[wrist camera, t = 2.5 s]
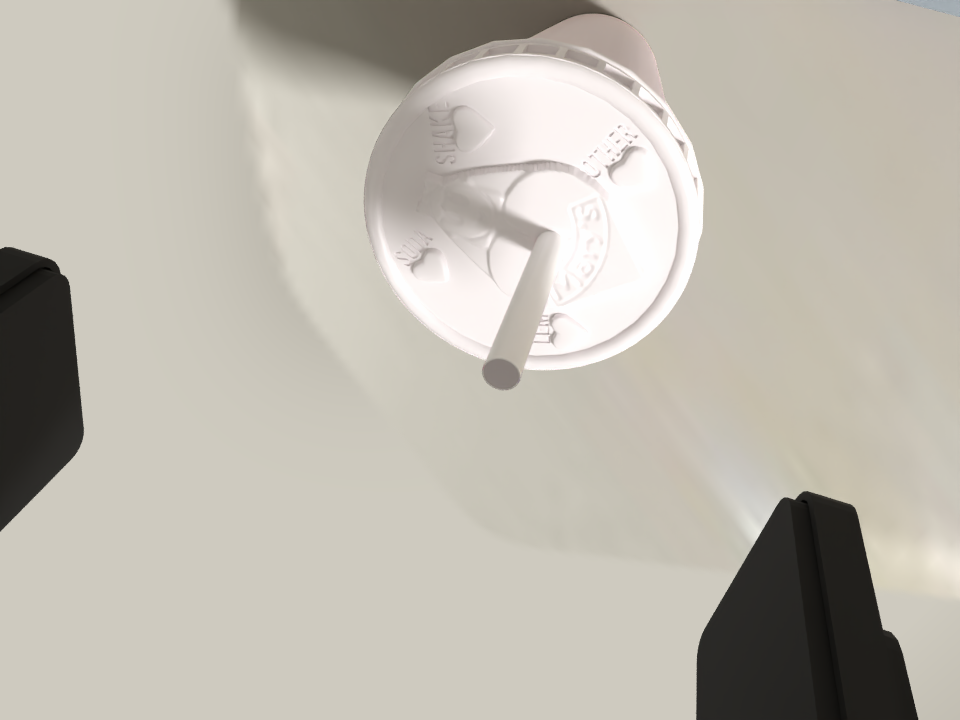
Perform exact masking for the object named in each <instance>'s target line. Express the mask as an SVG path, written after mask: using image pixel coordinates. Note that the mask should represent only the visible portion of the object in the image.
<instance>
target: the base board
mask: <svg viewBox="0 0 960 720" xmlns="http://www.w3.org/2000/svg"><path fill="white" fill-rule="evenodd" d="M898 1H902V2H905V3H909V4H913V5H917V6H920V7H924V8H928V9H932V10H935V11H939V12H943V13H947V14H951V15H954V16H958V17H960V0H898Z"/></svg>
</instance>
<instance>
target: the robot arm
mask: <svg viewBox="0 0 960 720" xmlns="http://www.w3.org/2000/svg"><path fill="white" fill-rule="evenodd" d="M83 435H84V427H83V418H82V407H81V396H80V387H79V377H78V366H77V355H76V346H75V335H74V325H73V314H72V304H71V294H70V285H69V282H68V279H67V278H66V277H65V276H63V275H62V274H61V273H60V270H59V267H58V266H57V264H56V263H55V262H54V261H52V260H50V259H48V258H45V257H42V256H38V255H35V254H32V253H29V252H25V251H21V250H18V249H15V248H12V247H4V248H2V249H0V531H1V530H2V529H3V528H4V527H5V526H6V525H7V524H8V523H9V522H10V521H11V520H12V519H13V518H14V517H15V516H16V515H17V514H18V513H19V512H20V511H21V510H22V509H23V508H24V507H25V506H26V505H27V504H28V503H29V502H30V501H31V500H32V499H33V498H34V497H35V496H36V495H37V494H38V493H39V492H40V491H41V490H42V489H43V488H44V486H46V485H47V484H48V482H49V481H50V480H51V479H52V478H53V477H54V476H55V475H56V474H57V473H58V472H59V471H60V470H61V469H62V468H63V467H64V466H65V465H66V464H67V463H68V462H69V461H70V460H71V459H72V458H73V457H74V456H75V454H76V453H77V451H78V449H79V448H80V445H81V443H82V439H83ZM696 714H697V716H696V720H918V717H917V712H916V708H915V704H914V699H913V695H912V691H911V687H910V683H909V678H908V675H907V670H906V666H905V662H904V658H903V653H902V650H901V648H900V645H899V642H898V640H897V639H896V637H895V636H894V635H893V634H892V633H891V632H889V631H885V630H883V628H882V624H881V619H880V615H879V610H878V606H877V601H876V596H875V592H874V587H873V583H872V578H871V574H870V569H869V565H868V560H867V556H866V551H865V547H864V542H863V537H862V533H861V528H860V524H859V519H858V515H857V512H856V509H855V508H854V507H853V506H852V505H851V504H847V503H844V502H841V501H837V500H834V499H831V498H828V497H824V496H821V495H818V494H815V493H811V492H808V491H805V492H802V493H801V494H800V495H799V496H798V497H797V498H796V500H793V499H790V498H783V499H782V500H781V501H780V502H779V503H778V505H777V506H776V508H775V510H774V512H773V513H772V515H771V517H770V518H769V520H768V522H767V523H766V525H765V527H764V529H763V530H762V532H761V534H760V535H759V537H758V539H757V541H756V542H755V544H754V546H753V547H752V549H751V551H750V552H749V554H748V556H747V558H746V559H745V561H744V563H743V564H742V566H741V568H740V569H739V571H738V573H737V575H736V576H735V578H734V580H733V582H732V583H731V585H730V587H729V588H728V590H727V592H726V593H725V595H724V597H723V599H722V600H721V602H720V604H719V605H718V607H717V609H716V611H715V612H714V614H713V616H712V617H711V619H710V621H709V623H708V624H707V626H706V628H705V629H704V631H703V633H702V636H701V639H700V643H699V647H698V653H697V710H696Z"/></svg>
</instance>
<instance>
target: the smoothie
mask: <svg viewBox="0 0 960 720" xmlns="http://www.w3.org/2000/svg"><path fill="white" fill-rule="evenodd" d="M703 192H704V187H703V183H702V180H701V176H700V172H699V168H698V164H697V161H696V157H695V153H694V149H693V145H692V143H691V141H690V140H689V138H688V136H687V135H686V133H685V131H684V130H683V128H682V126H681V125H680V123H679V121H678V120H677V118H676V116H675V115H674V113H673V111H672V110H671V108H670V106H669V105H668V103H667V102H666V100H665V96H664V92H663V88H662V83H661V79H660V75H659V71H658V67H657V63H656V59H655V57H654V54H653V52H652V50H651V48H650V46H649V44H648V43H647V41H646V40H645V39H644V37H643V36H642V35H641V34H640V33H639V32H638V31H637V30H636V29H634V28H633V27H632V26H631V25H629V24H628V23H626V22H624V21H622V20H620V19H618V18H615V17H612V16H609V15H604V14H581V15H577V16H573V17H571V18H568V19H566V20H563V21H561V22H559V23H557V24H555V25H554V26H552V27H550V28H548V29H546V30H544V31H542V32H540V33H538V34H536V35H534V36H532V37H530V38H528V39H515V40H501V41H492V42H490V43H487V44H484V45H481V46H479V47H476V48H473V49H471V50H468V51H465V52H462V53H460V54H457V55H454V56H452V57H450V58H448V59H447V60H446V61H444V62H443V63H442V64H440V65H439V66H438V67H436V68H435V69H434V70H432V71H431V72H430V73H428V74H427V75H426V76H424V77H423V78H422V79H420V80H419V81H418V82H416V83H415V85H414V86H413V87H412V89H411V90H410V91H409V93H408V94H407V96H406V97H405V98H404V100H403V101H402V102H401V104H400V105H399V106H398V108H397V109H396V110H395V112H394V113H393V114H392V116H391V117H390V119H389V120H388V122H387V123H386V125H385V126H384V128H383V130H382V132H381V133H380V135H379V137H378V139H377V141H376V144H375V146H374V149H373V152H372V154H371V157H370V161H369V165H368V169H367V173H366V180H365V188H364V212H365V221H366V227H367V233H368V236H369V240H370V244H371V247H372V250H373V253H374V256H375V259H376V261H377V263H378V265H379V267H380V269H381V272H382V274H383V275H384V277H385V279H386V281H387V282H388V284H389V286H390V287H391V289H392V290H393V291H394V293H395V294H396V296H397V297H398V298H399V300H400V301H401V302H402V303H403V304H404V306H405V307H406V308H407V309H408V310H409V311H410V312H411V313H412V314H413V315H414V316H415V317H416V318H417V319H418V320H419V321H420V322H421V323H422V324H423V325H424V326H426V327H427V328H428V329H429V330H430V331H432V332H433V333H434V334H436V335H437V336H439V337H440V338H441V339H443V340H445V341H446V342H448V343H449V344H451V345H453V346H454V347H456V348H458V349H460V350H462V351H464V352H466V353H468V354H471V355H473V356H475V357H478V358H480V359H483V360H486V361H485V364H484V366H483V369H482V374H483V378H484V380H485V381H486V382H487V383H488V384H489V385H490V386H491V387H493V388H495V389H499V390H509V389H512V388H514V387H515V386H516V385H517V384H518V383H519V381H520V378H521V375H522V372H523V369H530V370H559V369H569V368H574V367H580V366H584V365H588V364H592V363H596V362H598V361H601V360H604V359H607V358H609V357H611V356H614V355H616V354H618V353H620V352H622V351H624V350H626V349H627V348H629V347H631V346H632V345H634V344H636V343H637V342H638V341H640V340H641V339H642V338H644V337H645V336H646V335H648V334H649V333H650V332H651V331H652V330H653V329H654V328H655V327H656V326H658V325H659V324H660V322H661V321H662V320H663V319H664V318H665V317H666V316H667V315H668V313H669V312H670V311H671V309H672V308H673V307H674V305H675V304H676V302H677V301H678V299H679V297H680V296H681V294H682V292H683V290H684V289H685V287H686V284H687V282H688V280H689V277H690V275H691V272H692V269H693V266H694V263H695V259H696V254H697V249H698V244H699V239H700V236H701V233H702V225H703Z"/></svg>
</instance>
